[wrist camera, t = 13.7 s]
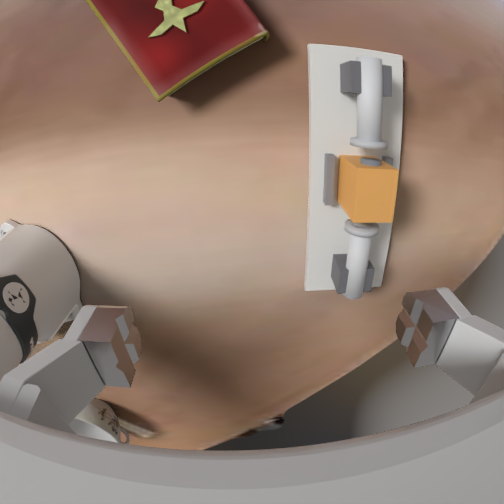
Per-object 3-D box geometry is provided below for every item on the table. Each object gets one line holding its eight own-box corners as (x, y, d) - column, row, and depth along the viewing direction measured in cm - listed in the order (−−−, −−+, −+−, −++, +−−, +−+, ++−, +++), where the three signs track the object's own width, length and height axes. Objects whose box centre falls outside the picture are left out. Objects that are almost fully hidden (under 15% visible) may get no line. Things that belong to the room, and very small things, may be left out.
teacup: (68, 397, 54) (57, 424, 47) (87, 381, 50) (73, 412, 43) (121, 430, 59) (114, 456, 52) (147, 418, 55) (139, 449, 48)
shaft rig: (378, 282, 38) (393, 309, 33) (304, 286, 38) (311, 316, 33) (398, 56, 24) (424, 51, 19) (307, 45, 25) (319, 34, 20)
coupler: (370, 204, 32) (391, 226, 26) (336, 204, 32) (352, 226, 26) (375, 152, 29) (399, 165, 24) (339, 151, 29) (357, 163, 24)
